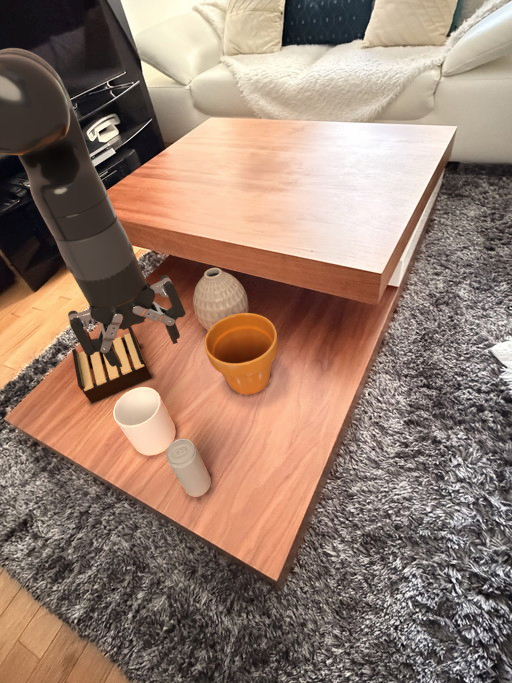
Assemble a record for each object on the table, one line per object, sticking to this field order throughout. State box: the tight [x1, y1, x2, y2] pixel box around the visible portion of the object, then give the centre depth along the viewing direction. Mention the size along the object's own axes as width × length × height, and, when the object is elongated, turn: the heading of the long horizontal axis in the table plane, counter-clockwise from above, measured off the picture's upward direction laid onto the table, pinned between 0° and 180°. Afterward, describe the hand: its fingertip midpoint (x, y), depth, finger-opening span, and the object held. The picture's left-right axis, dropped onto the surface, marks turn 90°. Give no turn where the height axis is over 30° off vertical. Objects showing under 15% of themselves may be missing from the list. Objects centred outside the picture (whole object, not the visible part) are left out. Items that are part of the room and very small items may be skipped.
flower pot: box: [203, 312, 279, 396], centre depth 79 cm, size 14×14×13 cm
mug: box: [112, 386, 177, 456], centre depth 74 cm, size 9×12×11 cm
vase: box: [192, 267, 249, 332], centre depth 91 cm, size 13×13×17 cm
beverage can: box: [165, 437, 212, 498], centre depth 64 cm, size 5×5×12 cm
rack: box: [71, 326, 153, 405], centre depth 88 cm, size 14×12×7 cm
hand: (146, 352), depth 57 cm, fingers open, 8 cm apart
